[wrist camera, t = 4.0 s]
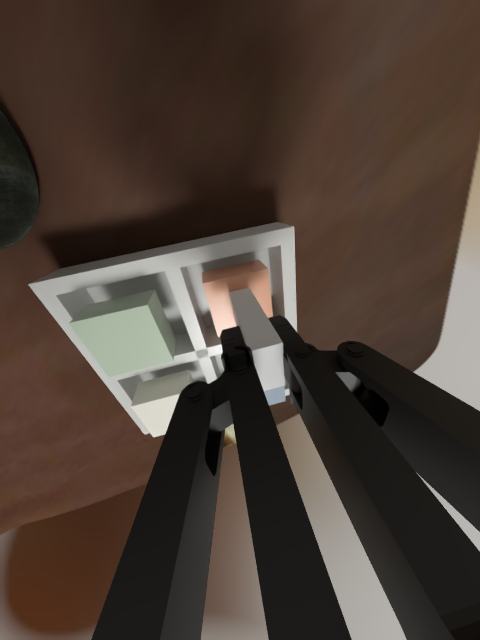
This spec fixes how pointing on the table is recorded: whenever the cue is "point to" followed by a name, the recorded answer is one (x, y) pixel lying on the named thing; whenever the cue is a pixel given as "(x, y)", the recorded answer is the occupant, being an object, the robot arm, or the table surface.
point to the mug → (15, 187)
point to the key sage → (126, 333)
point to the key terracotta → (233, 280)
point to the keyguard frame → (174, 297)
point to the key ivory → (159, 400)
